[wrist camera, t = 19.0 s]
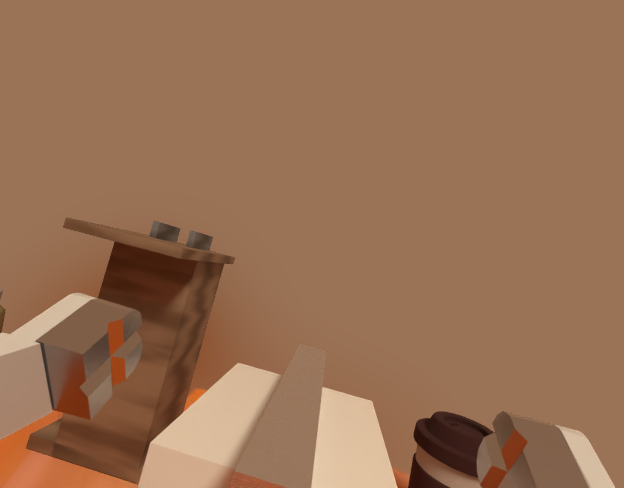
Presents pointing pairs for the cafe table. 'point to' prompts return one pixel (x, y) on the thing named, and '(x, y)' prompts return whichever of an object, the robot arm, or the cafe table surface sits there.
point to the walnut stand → (143, 346)
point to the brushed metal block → (287, 429)
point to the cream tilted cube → (242, 424)
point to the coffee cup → (446, 452)
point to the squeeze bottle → (1, 313)
